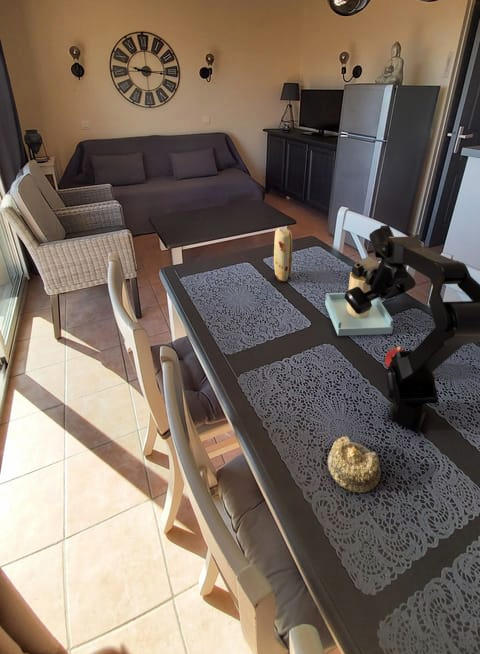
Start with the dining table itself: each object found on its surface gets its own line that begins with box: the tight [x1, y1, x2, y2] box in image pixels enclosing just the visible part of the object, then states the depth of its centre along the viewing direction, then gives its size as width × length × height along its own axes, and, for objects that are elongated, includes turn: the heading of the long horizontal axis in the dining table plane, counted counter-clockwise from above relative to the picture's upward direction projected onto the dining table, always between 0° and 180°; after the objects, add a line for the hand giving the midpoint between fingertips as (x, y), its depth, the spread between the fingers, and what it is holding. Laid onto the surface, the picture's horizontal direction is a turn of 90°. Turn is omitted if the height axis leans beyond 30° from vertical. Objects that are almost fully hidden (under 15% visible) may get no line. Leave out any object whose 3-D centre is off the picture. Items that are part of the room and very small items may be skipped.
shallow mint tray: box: [324, 292, 394, 337], centre depth 113 cm, size 16×16×4 cm
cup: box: [346, 271, 371, 318], centre depth 110 cm, size 7×7×13 cm
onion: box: [384, 345, 405, 369], centre depth 91 cm, size 6×6×8 cm
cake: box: [327, 435, 382, 494], centre depth 69 cm, size 10×10×5 cm
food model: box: [273, 227, 293, 283], centre depth 134 cm, size 10×7×20 cm
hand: (372, 305), depth 100 cm, fingers open, 9 cm apart
